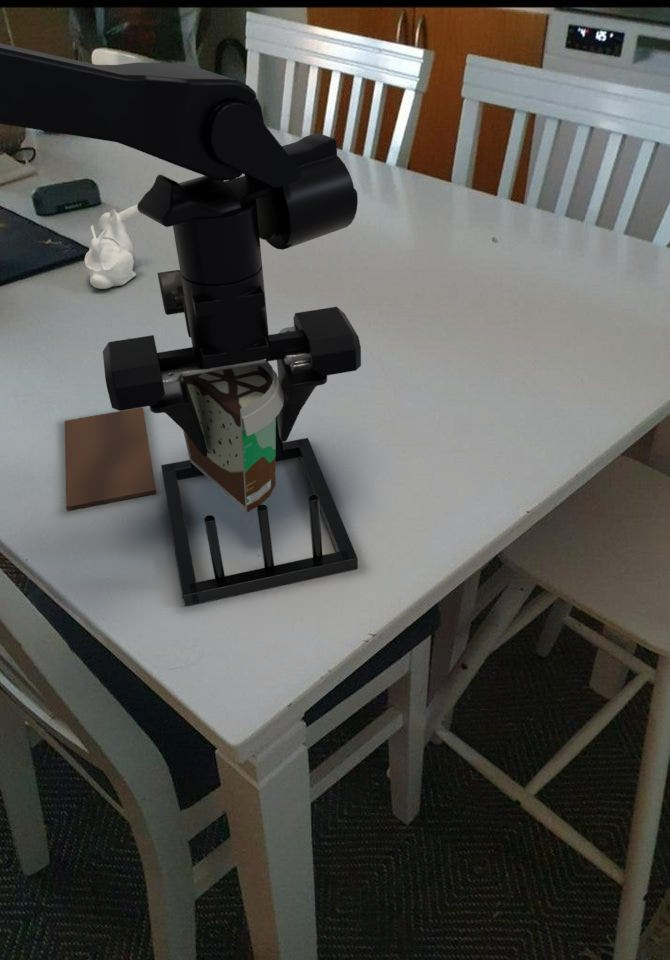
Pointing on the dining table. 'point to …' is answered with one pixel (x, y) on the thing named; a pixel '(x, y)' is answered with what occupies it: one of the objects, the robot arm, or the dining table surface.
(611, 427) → the dining table surface
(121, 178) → the dining table surface
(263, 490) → the food container
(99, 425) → the walnut board
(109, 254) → the white sculpted figure
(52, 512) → the dining table surface
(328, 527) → the drying rack
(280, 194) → the robot arm
